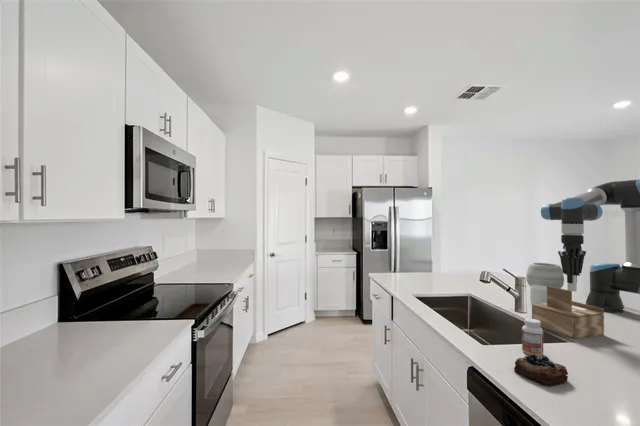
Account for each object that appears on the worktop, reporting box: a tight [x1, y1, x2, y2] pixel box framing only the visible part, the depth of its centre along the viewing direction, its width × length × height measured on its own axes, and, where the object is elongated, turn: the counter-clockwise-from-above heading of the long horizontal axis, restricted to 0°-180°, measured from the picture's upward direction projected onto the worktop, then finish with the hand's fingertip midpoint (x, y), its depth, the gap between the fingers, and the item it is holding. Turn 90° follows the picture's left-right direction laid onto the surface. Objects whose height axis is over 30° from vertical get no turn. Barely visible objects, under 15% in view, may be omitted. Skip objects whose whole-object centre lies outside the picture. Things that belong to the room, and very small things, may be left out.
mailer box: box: [531, 306, 605, 340], centre depth 139 cm, size 16×18×8 cm
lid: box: [532, 286, 605, 317], centre depth 139 cm, size 16×18×9 cm
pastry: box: [513, 354, 569, 387], centre depth 98 cm, size 11×12×6 cm
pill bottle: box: [521, 318, 544, 357], centre depth 115 cm, size 6×6×11 cm
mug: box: [529, 285, 547, 307], centre depth 161 cm, size 15×11×13 cm
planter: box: [525, 262, 565, 289], centre depth 172 cm, size 16×16×22 cm
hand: (572, 290), depth 140 cm, fingers closed
